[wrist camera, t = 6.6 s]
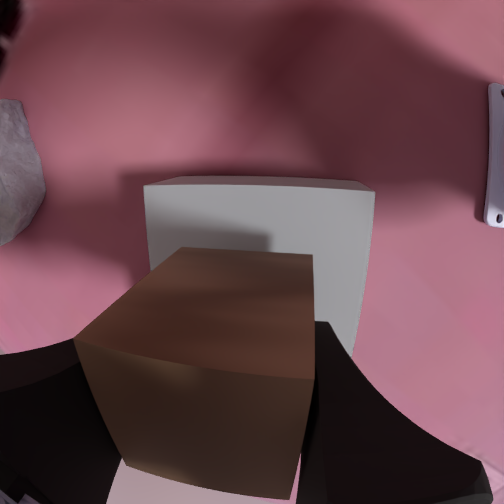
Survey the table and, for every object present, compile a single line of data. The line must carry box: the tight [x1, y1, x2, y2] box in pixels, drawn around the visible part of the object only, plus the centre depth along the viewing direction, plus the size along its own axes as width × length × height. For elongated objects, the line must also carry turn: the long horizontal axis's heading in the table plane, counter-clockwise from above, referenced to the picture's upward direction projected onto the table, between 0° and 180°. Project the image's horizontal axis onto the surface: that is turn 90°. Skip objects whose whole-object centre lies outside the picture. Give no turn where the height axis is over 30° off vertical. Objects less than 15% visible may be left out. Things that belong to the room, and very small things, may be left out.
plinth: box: [144, 176, 375, 357], centre depth 15 cm, size 9×9×4 cm
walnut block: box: [73, 247, 315, 500], centre depth 8 cm, size 4×4×6 cm
